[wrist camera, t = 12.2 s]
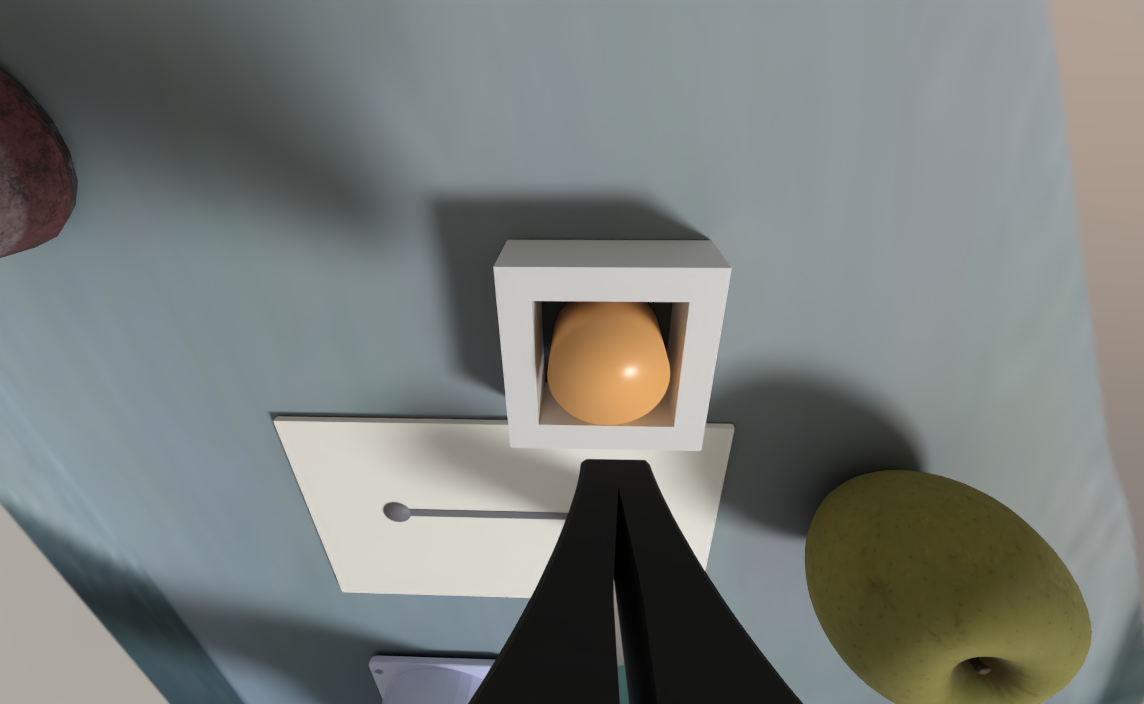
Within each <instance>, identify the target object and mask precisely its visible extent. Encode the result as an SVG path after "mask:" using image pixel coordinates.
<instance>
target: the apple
mask: <svg viewBox="0 0 1144 704" xmlns="http://www.w3.org/2000/svg"><path fill="white" fill-rule="evenodd" d="M805 571H806V580H807V585H808V590H809V595H810V598H811V601H812V604H813V607H814V610H815V613H816V615H817V617H818V620H819V622H820V624H821V626H822V628H823V630H824V632H825V634H826V635H827V637H828V639H829V641H830V642H831V644H832V645H833V647H834V648H835V649H836V651H837V652H838V654H839V655H840V656H841V658H842V659H843V660H844V662H845V663H846V664H847V665H848V666H849V667H850V669H851V670H852V671H853V672H854V673H855V674H856V675H857V676H858V677H859V678H861V679H862V680H863V681H864V682H865V683H866V684H867V685H868V686H870V687H871V688H872V689H874V690H875V691H876V692H878V693H879V694H881V695H882V696H883V697H885V698H886V699H888V700H890V701H892V702H894V703H895V704H1041V703H1043V702H1044V701H1046V700H1047V699H1049V698H1050V697H1052V696H1053V695H1055V694H1056V693H1057V692H1059V691H1060V690H1061V689H1063V688H1064V687H1065V686H1066V685H1067V684H1068V683H1069V682H1070V681H1071V680H1072V679H1073V677H1074V676H1075V675H1076V674H1077V672H1078V671H1079V670H1080V668H1081V667H1082V665H1083V663H1084V661H1085V659H1086V656H1087V654H1088V651H1089V648H1090V644H1091V632H1092V631H1091V622H1090V618H1089V613H1088V609H1087V607H1086V604H1085V602H1084V599H1083V597H1082V594H1081V592H1080V589H1079V587H1078V585H1077V583H1076V582H1075V580H1074V578H1073V576H1072V575H1071V573H1070V572H1069V570H1068V569H1067V567H1066V566H1065V564H1064V563H1063V562H1062V560H1061V559H1060V558H1059V556H1058V555H1057V553H1056V552H1055V551H1054V550H1053V549H1052V548H1051V547H1050V545H1049V544H1048V543H1047V542H1046V541H1045V540H1044V539H1043V538H1042V537H1041V536H1040V535H1039V534H1038V533H1037V532H1036V531H1035V530H1034V529H1033V528H1032V527H1031V526H1030V525H1028V524H1027V523H1026V522H1025V521H1024V520H1023V519H1022V518H1021V517H1019V516H1018V515H1017V514H1016V513H1014V512H1013V511H1012V510H1011V509H1009V508H1008V507H1007V506H1005V505H1003V504H1002V503H1000V502H999V501H997V500H996V499H994V498H993V497H991V496H989V495H987V494H985V493H983V492H981V491H979V490H977V489H975V488H973V487H971V486H968V485H966V484H964V483H961V482H958V481H955V480H952V479H949V478H946V477H943V476H939V475H934V474H929V473H924V472H919V471H910V470H885V471H877V472H871V473H867V474H863V475H860V476H857V477H854V478H852V479H850V480H848V481H846V482H844V483H843V484H841V485H839V486H838V487H836V488H835V489H834V490H832V491H831V492H830V493H829V494H828V495H827V496H826V497H825V499H824V500H823V501H822V503H821V504H820V506H819V508H818V509H817V511H816V513H815V515H814V517H813V519H812V521H811V524H810V527H809V529H808V534H807V540H806V547H805Z"/></svg>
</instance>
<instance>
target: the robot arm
mask: <svg viewBox="0 0 1144 704" xmlns="http://www.w3.org/2000/svg"><path fill="white" fill-rule="evenodd" d="M614 584H615V592H616V601H617V609H618V617H619V625H620V633H621V641H622V649H623V657H624V665H625V673H626V681H627V689H628V698H629V704H803V703H802V702H801V701H800V699H799V698H798V697H797V696H796V695H795V694H794V692H793V691H792V690H791V689H790V688H789V686H788V685H787V684H786V683H785V682H784V680H783V679H782V678H781V676H780V675H779V674H778V673H777V671H776V670H775V669H774V667H773V666H772V665H771V664H770V662H769V661H768V660H767V659H766V657H765V656H764V655H763V653H762V652H761V651H760V650H759V648H758V647H757V646H756V644H755V643H754V641H753V640H752V639H751V637H750V636H749V635H748V633H747V632H746V631H745V629H744V628H743V627H742V625H741V624H740V622H739V621H738V620H737V618H736V617H735V615H734V614H733V613H732V611H731V610H730V608H729V607H728V605H727V604H726V602H725V601H724V599H723V598H722V597H721V595H720V594H719V592H718V590H717V589H716V587H715V586H714V584H713V583H712V581H711V580H710V578H709V577H708V575H707V574H706V572H705V570H704V569H703V567H702V565H701V564H700V562H699V561H698V559H697V557H696V556H695V554H694V552H693V551H692V549H691V547H690V545H689V544H688V542H687V540H686V538H685V537H684V535H683V533H682V531H681V530H680V528H679V526H678V524H677V522H676V521H675V519H674V517H673V515H672V513H671V511H670V509H669V507H668V505H667V503H666V501H665V499H664V497H663V495H662V493H661V491H660V488H659V486H658V484H657V482H656V479H655V477H654V474H653V472H652V469H651V466H650V464H649V463H648V462H647V461H646V460H618V459H586V460H584V461H583V462H581V465H580V473H579V478H578V483H577V487H576V490H575V494H574V497H573V500H572V503H571V506H570V509H569V512H568V515H567V518H566V520H565V523H564V525H563V528H562V530H561V533H560V536H559V538H558V541H557V543H556V546H555V548H554V550H553V552H552V555H551V557H550V559H549V561H548V563H547V565H546V567H545V570H544V572H543V574H542V576H541V578H540V580H539V582H538V585H537V587H536V589H535V591H534V592H533V594H532V596H531V598H530V600H529V602H528V604H527V606H526V608H525V610H524V612H523V613H522V615H521V617H520V619H519V621H518V622H517V624H516V626H515V628H514V630H513V631H512V633H511V635H510V637H509V638H508V640H507V642H506V643H505V645H504V647H503V648H502V650H501V652H500V653H499V655H498V657H497V658H496V660H494V659H465V658H436V657H407V656H373V657H372V658H371V659H370V662H369V668H370V670H371V673H372V675H373V677H374V680H375V682H376V685H377V687H378V689H379V692H380V694H381V697H382V699H383V701H382V704H620V697H619V681H618V666H617V650H616V633H615V616H614Z"/></svg>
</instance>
